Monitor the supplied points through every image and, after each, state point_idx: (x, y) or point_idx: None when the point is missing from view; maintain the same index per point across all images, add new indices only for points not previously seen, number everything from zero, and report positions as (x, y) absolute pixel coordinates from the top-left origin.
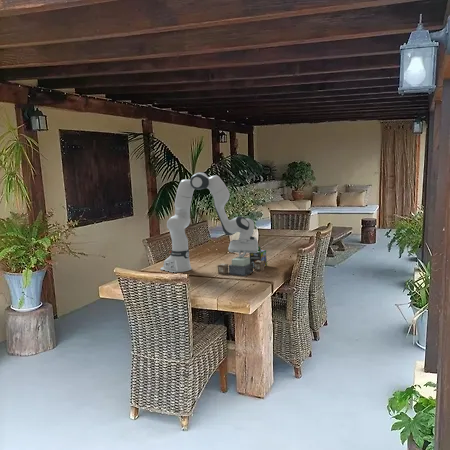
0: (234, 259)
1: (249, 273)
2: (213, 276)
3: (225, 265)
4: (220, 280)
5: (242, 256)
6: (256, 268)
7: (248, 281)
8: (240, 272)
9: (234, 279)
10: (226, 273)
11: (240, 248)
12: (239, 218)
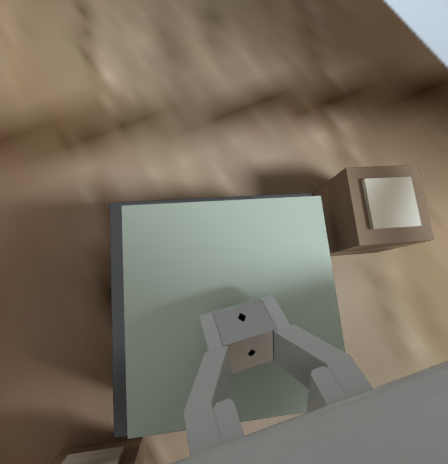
0: (280, 206)
1: None
2: (346, 120)
3: (348, 191)
4: (236, 54)
5: (208, 314)
6: (106, 451)
7: (21, 101)
8: None
9: (157, 109)
10: None
11: (366, 450)
12: None
